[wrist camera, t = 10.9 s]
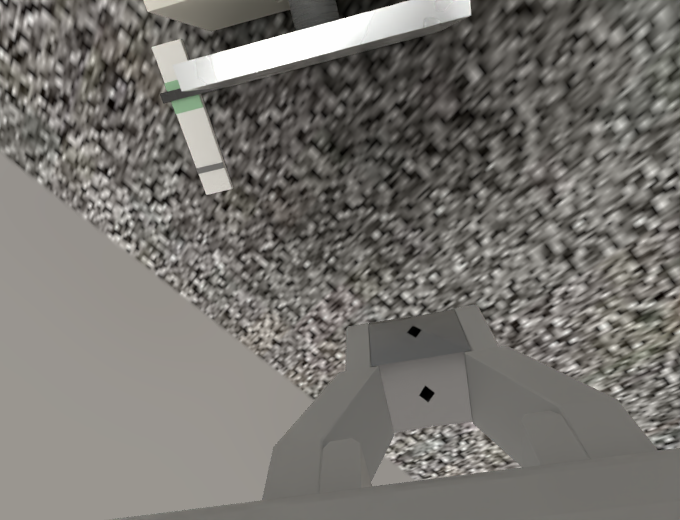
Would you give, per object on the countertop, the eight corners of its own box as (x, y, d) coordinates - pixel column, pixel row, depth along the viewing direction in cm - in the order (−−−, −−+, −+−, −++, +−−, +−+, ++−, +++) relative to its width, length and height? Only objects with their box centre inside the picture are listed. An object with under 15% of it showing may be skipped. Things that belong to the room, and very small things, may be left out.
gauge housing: (98, -104, 24) (-51, -209, 15) (407, -207, 22) (444, -399, 13) (208, 193, 31) (150, 240, 22) (449, 137, 29) (491, 165, 20)
